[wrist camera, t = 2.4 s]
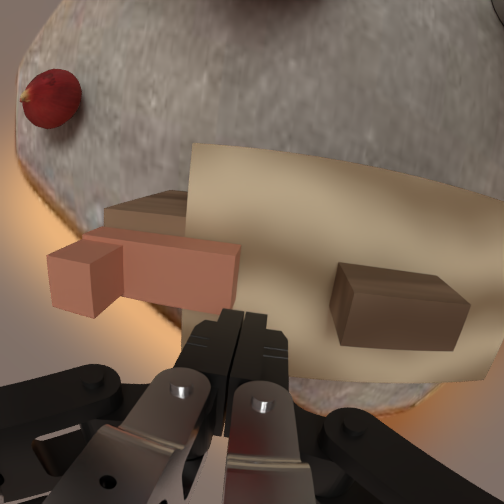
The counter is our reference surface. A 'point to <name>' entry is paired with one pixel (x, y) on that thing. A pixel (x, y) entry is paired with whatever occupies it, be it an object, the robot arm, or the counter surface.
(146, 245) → the l-shaped block
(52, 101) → the onion
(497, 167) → the counter surface
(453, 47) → the counter surface
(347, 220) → the lid
